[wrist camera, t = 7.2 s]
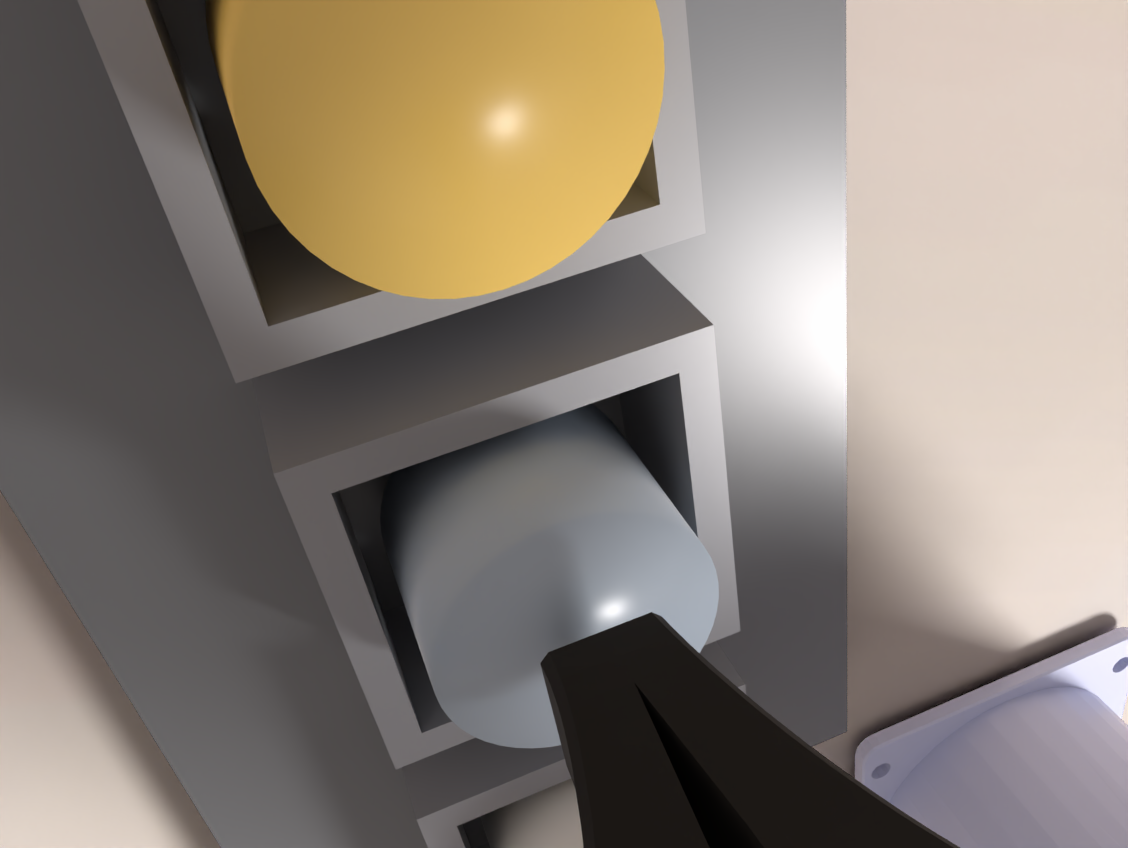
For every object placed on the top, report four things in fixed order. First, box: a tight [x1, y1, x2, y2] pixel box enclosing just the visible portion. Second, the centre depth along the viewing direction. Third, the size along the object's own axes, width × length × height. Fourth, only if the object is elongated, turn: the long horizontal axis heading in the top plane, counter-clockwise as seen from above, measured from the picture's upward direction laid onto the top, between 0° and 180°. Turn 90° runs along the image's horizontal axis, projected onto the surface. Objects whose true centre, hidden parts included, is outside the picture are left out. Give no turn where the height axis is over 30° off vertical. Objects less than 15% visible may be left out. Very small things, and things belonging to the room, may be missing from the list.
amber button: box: [205, 0, 665, 299], centre depth 10 cm, size 4×4×3 cm
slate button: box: [380, 403, 719, 748], centre depth 14 cm, size 4×4×3 cm
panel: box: [0, 0, 847, 848], centre depth 15 cm, size 20×12×4 cm, turn 10°
